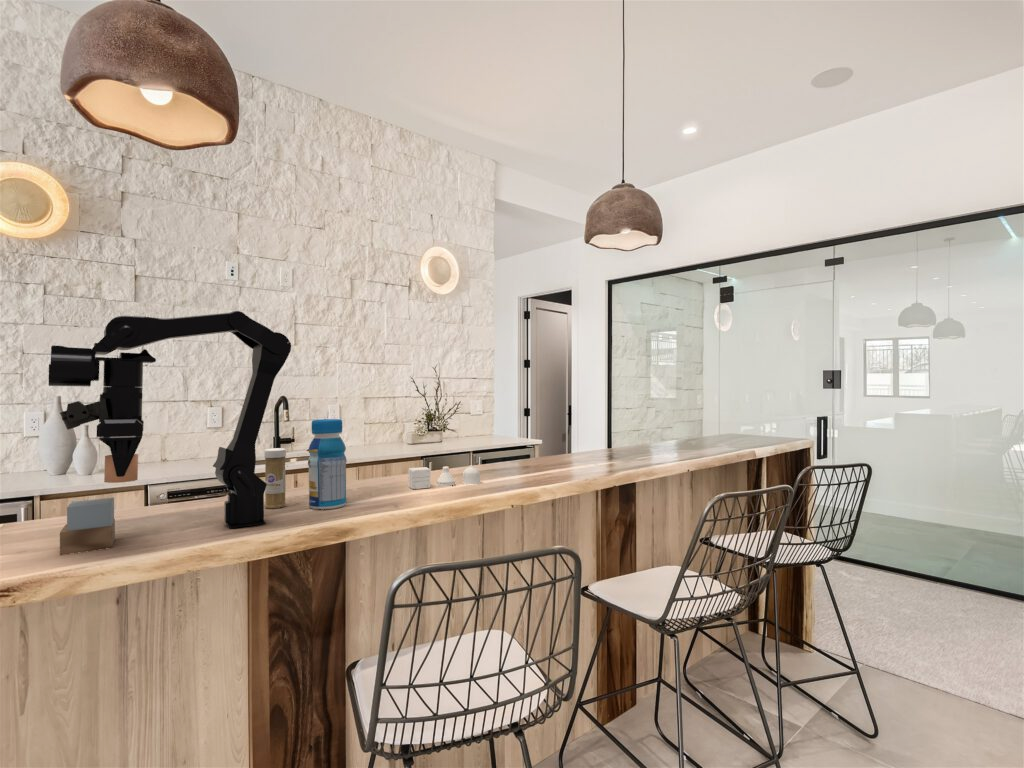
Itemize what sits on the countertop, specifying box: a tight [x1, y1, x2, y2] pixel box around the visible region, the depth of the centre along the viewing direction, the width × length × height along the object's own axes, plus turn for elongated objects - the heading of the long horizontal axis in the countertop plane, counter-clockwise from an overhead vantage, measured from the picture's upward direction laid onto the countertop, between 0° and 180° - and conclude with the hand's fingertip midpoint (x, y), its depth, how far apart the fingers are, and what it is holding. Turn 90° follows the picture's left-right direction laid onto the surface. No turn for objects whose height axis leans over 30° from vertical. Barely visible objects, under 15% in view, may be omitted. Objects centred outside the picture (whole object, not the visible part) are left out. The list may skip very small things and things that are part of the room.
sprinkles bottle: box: [264, 447, 287, 509], centre depth 126 cm, size 5×5×13 cm
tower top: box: [66, 497, 115, 531], centre depth 95 cm, size 6×6×4 cm
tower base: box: [59, 518, 116, 556], centre depth 95 cm, size 7×7×4 cm
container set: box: [407, 464, 482, 490], centre depth 151 cm, size 20×5×6 cm, turn 112°
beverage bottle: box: [307, 418, 348, 511], centre depth 125 cm, size 8×8×20 cm
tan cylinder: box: [103, 453, 139, 484], centre depth 97 cm, size 5×5×4 cm
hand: (121, 474), depth 97 cm, fingers closed on tan cylinder, 5 cm apart
